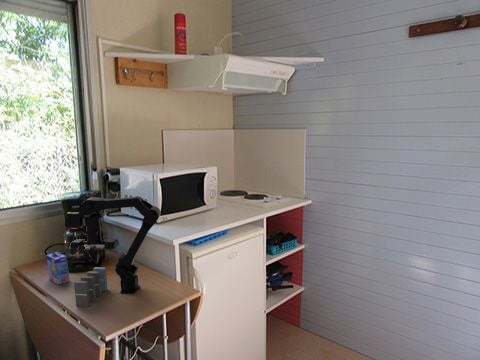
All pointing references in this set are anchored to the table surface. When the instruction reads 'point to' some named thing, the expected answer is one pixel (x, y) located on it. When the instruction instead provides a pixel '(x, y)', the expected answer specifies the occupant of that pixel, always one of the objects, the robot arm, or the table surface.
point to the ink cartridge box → (58, 267)
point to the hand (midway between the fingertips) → (96, 263)
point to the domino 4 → (102, 277)
